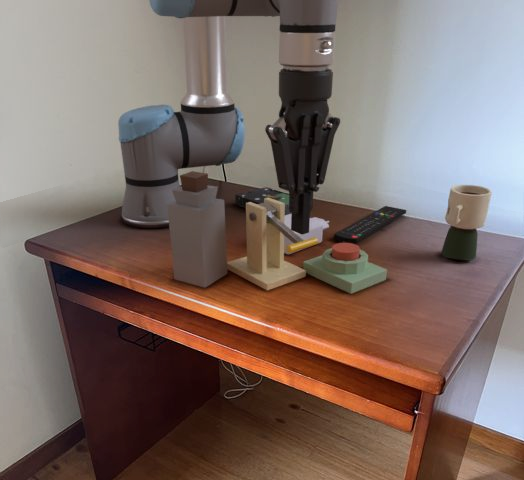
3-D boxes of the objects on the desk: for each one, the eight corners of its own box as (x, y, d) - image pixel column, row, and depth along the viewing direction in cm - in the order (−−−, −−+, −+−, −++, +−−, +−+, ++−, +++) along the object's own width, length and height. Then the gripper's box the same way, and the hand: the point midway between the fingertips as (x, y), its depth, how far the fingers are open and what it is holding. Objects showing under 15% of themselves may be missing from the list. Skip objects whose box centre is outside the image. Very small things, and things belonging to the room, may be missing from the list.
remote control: (405, 215, 126) (406, 210, 126) (355, 246, 110) (355, 240, 109) (384, 211, 129) (385, 205, 128) (332, 241, 113) (332, 234, 112)
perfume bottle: (204, 287, 94) (197, 182, 85) (174, 279, 97) (164, 176, 88) (227, 274, 99) (223, 172, 90) (197, 266, 102) (190, 167, 93)
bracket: (306, 276, 98) (308, 206, 91) (267, 290, 93) (266, 217, 86) (264, 256, 106) (263, 190, 99) (226, 268, 101) (223, 200, 94)
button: (325, 256, 97) (326, 246, 96) (344, 249, 99) (345, 240, 98) (345, 264, 93) (346, 254, 92) (364, 257, 96) (365, 248, 95)
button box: (302, 271, 100) (303, 251, 98) (337, 259, 104) (338, 239, 102) (350, 294, 92) (352, 272, 90) (386, 279, 97) (388, 258, 94)
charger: (341, 237, 115) (291, 256, 106) (309, 226, 120) (259, 243, 112) (343, 215, 112) (292, 232, 104) (310, 205, 118) (259, 221, 109)
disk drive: (234, 205, 134) (275, 219, 124) (234, 194, 132) (275, 207, 123) (266, 197, 140) (307, 210, 130) (266, 186, 138) (307, 198, 129)
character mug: (451, 245, 110) (463, 180, 104) (486, 253, 107) (501, 186, 100) (428, 261, 103) (439, 193, 96) (464, 271, 99) (478, 200, 93)
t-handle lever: (316, 248, 91) (319, 236, 89) (289, 257, 88) (292, 245, 86) (272, 211, 97) (275, 199, 95) (245, 218, 94) (247, 206, 92)
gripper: (288, 73, 70) (284, 247, 82) (358, 66, 77) (345, 228, 89) (252, 68, 75) (253, 233, 87) (321, 62, 81) (313, 216, 94)
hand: (300, 231), depth 88 cm, fingers closed
